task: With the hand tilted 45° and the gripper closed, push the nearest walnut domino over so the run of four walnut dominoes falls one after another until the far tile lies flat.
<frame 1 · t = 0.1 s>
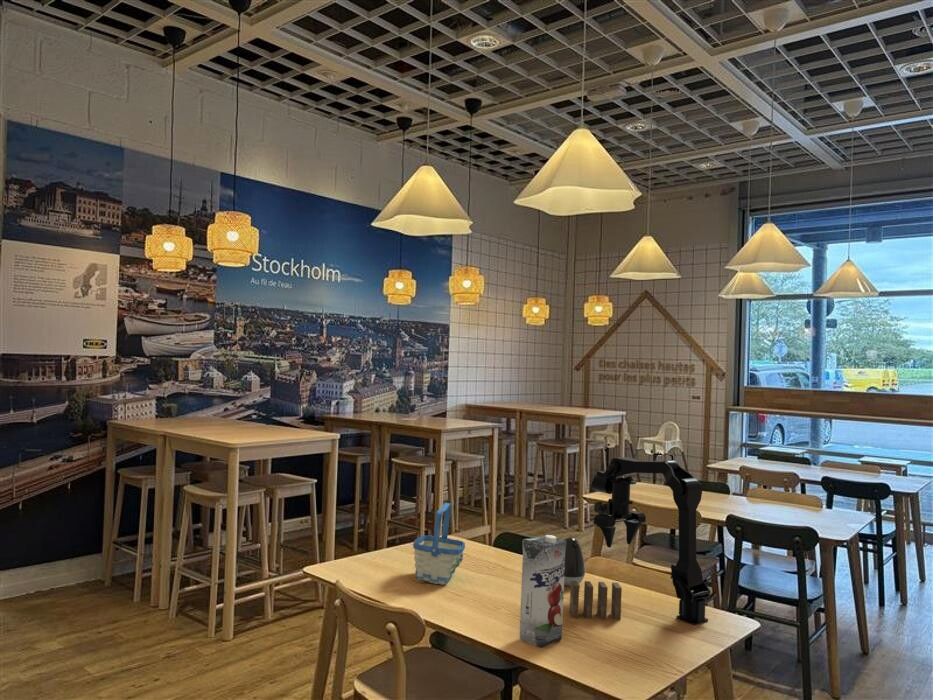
hand: (618, 545, 222), 15 cm above the table, tool pointing down, fingers open, 9 cm apart
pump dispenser: (569, 584, 228), on the table
domino 3: (587, 615, 199), on the table
domino 4: (573, 615, 199), on the table
domino 2: (601, 616, 199), on the table
juice carton: (540, 640, 179), on the table
domino 1: (615, 616, 199), on the table
basket: (438, 578, 228), on the table
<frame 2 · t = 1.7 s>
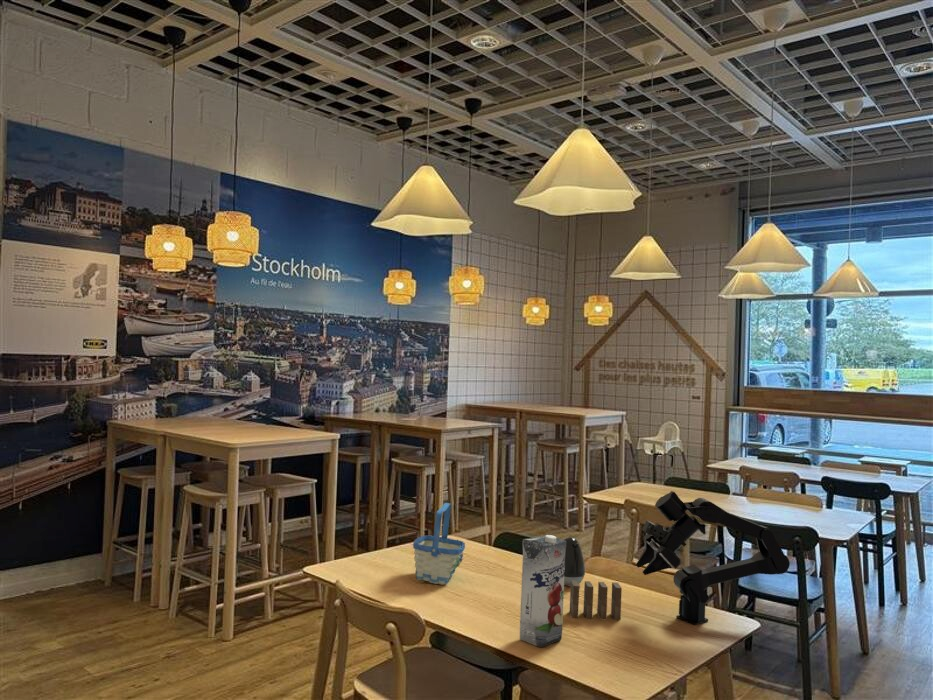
hand: (640, 569, 199), 14 cm above the table, tool tilted 45°, fingers open, 7 cm apart
nothing on the table moved.
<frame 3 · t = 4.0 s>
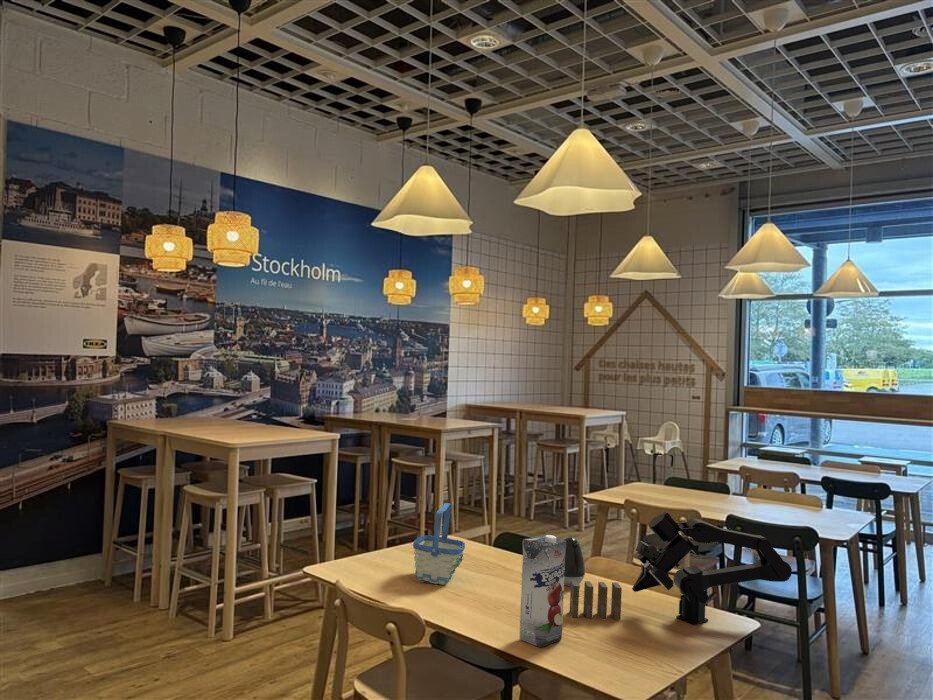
hand: (633, 590, 199), 8 cm above the table, tool tilted 45°, fingers closed
nothing on the table moved.
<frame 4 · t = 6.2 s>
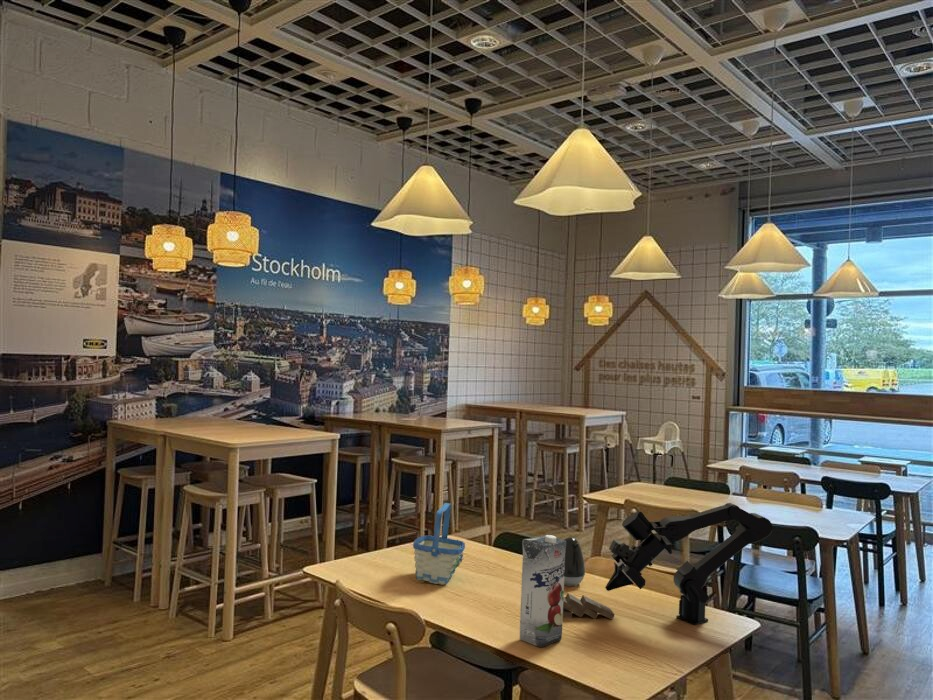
hand: (606, 589, 199), 8 cm above the table, tool tilted 45°, fingers closed
domino 3: (581, 612, 199), point 1 cm above the table, tilted 63°, touching domino 2, domino 4
domino 4: (570, 612, 199), point 1 cm above the table, tilted 89°, touching domino 3
domino 2: (595, 613, 199), point 1 cm above the table, tilted 63°, touching domino 1, domino 3
domino 1: (611, 614, 199), point 1 cm above the table, tilted 67°, touching domino 2
everything else where it was.
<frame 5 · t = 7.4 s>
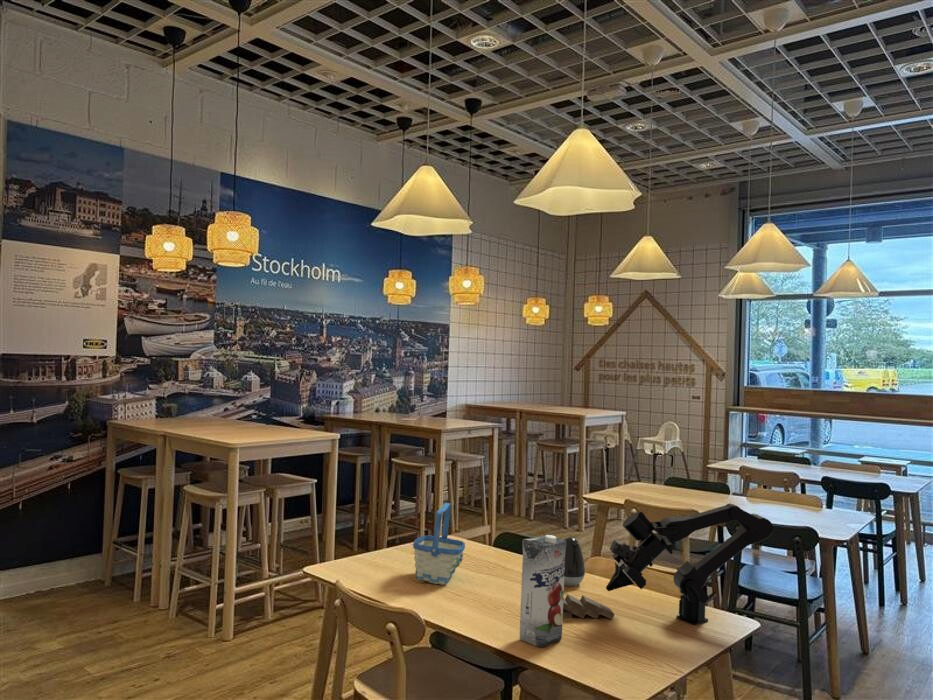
hand: (607, 589, 199), 8 cm above the table, tool tilted 45°, fingers closed
domino 3: (582, 612, 198), point 1 cm above the table, tilted 65°, touching domino 2, domino 4
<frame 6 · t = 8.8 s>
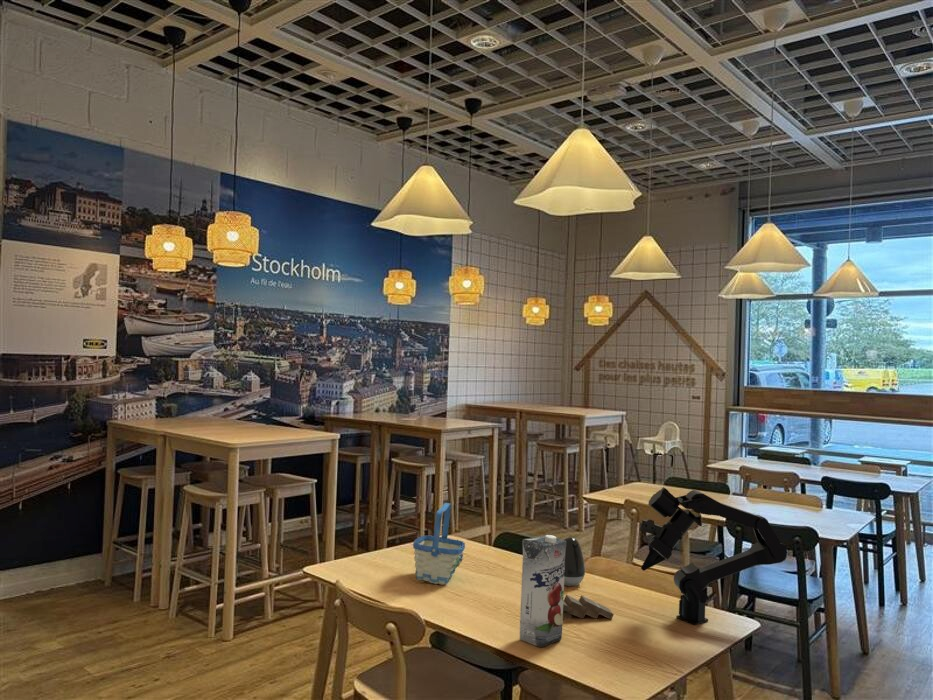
hand: (642, 569, 200), 13 cm above the table, tool tilted 35°, fingers closed
domino 3: (581, 612, 198), point 1 cm above the table, tilted 67°, touching domino 2
domino 4: (569, 612, 198), point 1 cm above the table, tilted 89°
domino 2: (594, 612, 199), point 1 cm above the table, tilted 66°, touching domino 1, domino 3
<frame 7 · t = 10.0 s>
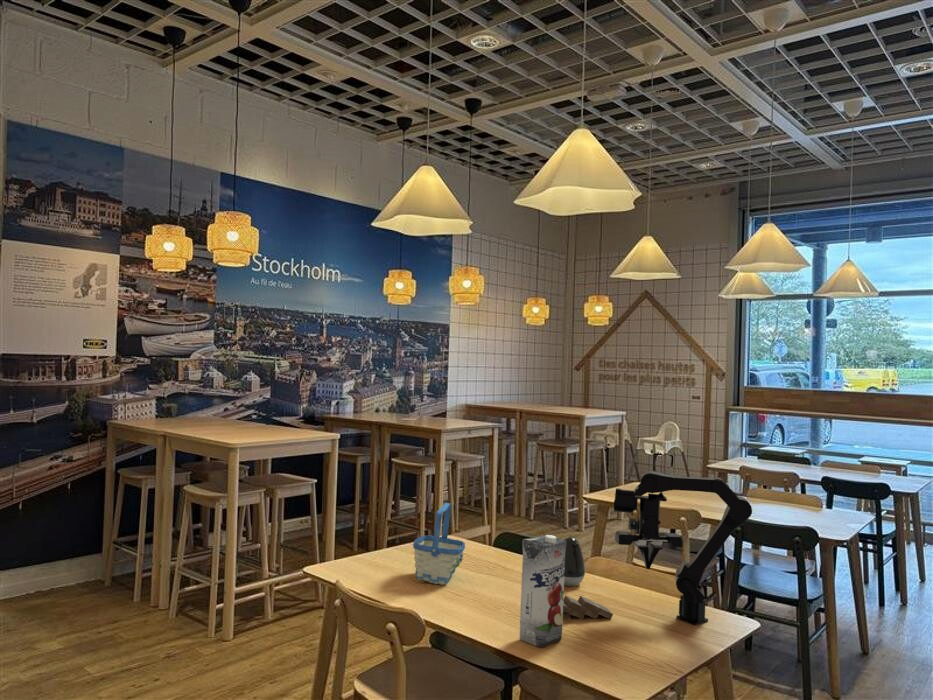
hand: (647, 568, 203), 13 cm above the table, tool pointing down, fingers closed
domino 3: (580, 613, 198), point 1 cm above the table, tilted 68°, touching domino 2, domino 4
domino 4: (568, 613, 198), point 1 cm above the table, tilted 89°, touching domino 3
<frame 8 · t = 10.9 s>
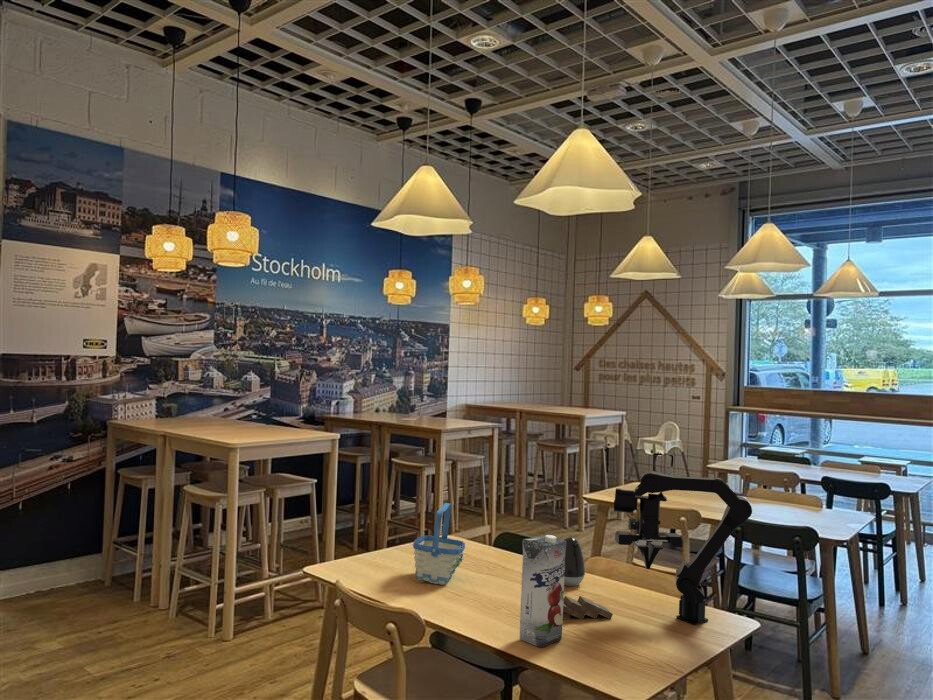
hand: (647, 568, 203), 13 cm above the table, tool pointing down, fingers closed
at the end: domino 4 tilted 89°; domino 1 tilted 66° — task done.
